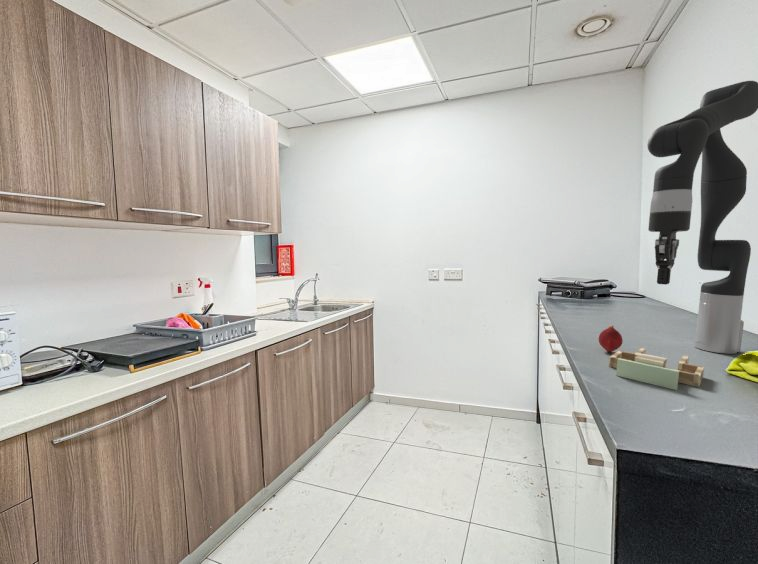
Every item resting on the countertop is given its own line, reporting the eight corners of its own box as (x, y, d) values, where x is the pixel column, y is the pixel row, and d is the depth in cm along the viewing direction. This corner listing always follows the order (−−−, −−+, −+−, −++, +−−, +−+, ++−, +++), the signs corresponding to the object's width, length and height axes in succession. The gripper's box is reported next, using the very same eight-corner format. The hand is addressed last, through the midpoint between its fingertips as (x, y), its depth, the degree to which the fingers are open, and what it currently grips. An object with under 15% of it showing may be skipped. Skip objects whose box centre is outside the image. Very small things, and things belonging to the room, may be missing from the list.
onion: (625, 355, 97) (627, 328, 96) (602, 354, 98) (605, 326, 98) (615, 349, 103) (617, 323, 102) (594, 348, 104) (596, 322, 103)
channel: (625, 353, 99) (626, 345, 99) (706, 369, 87) (707, 359, 87) (602, 371, 85) (603, 361, 84) (696, 393, 72) (697, 381, 72)
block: (638, 373, 84) (640, 353, 83) (664, 379, 80) (666, 358, 80) (633, 378, 81) (635, 357, 80) (660, 384, 77) (663, 362, 76)
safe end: (617, 374, 82) (618, 358, 82) (677, 388, 74) (679, 370, 74) (616, 375, 82) (617, 359, 81) (676, 389, 74) (678, 371, 73)
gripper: (687, 207, 74) (679, 287, 76) (694, 212, 83) (687, 283, 85) (644, 210, 80) (637, 284, 81) (655, 214, 88) (649, 281, 90)
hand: (663, 283), depth 83 cm, fingers closed
